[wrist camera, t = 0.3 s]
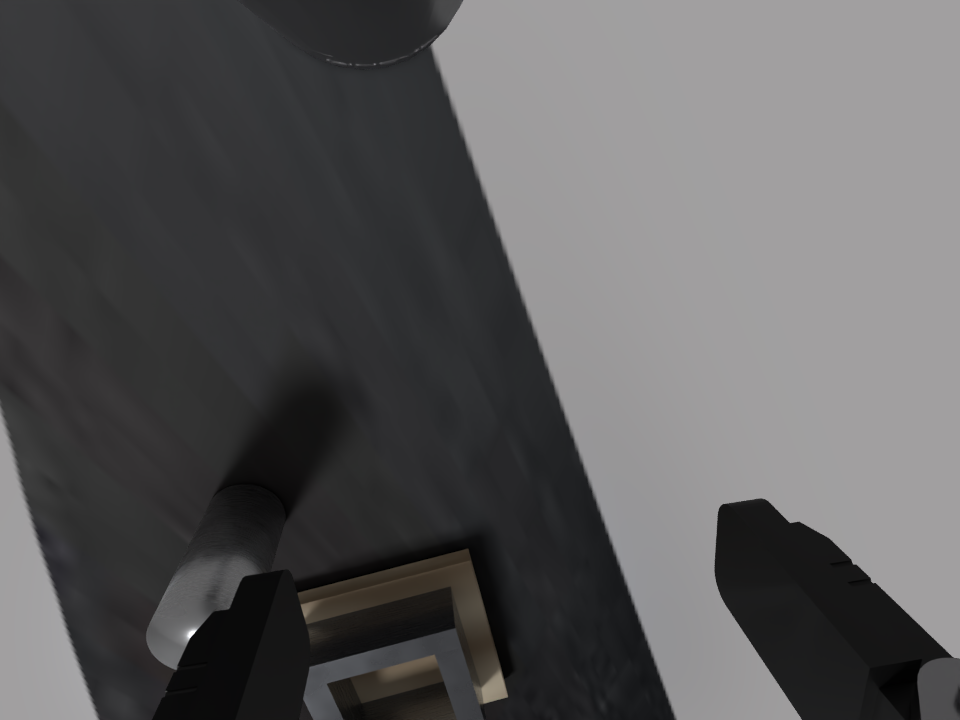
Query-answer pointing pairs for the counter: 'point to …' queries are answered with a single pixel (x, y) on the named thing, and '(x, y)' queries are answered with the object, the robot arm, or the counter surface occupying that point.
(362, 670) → the sleeve
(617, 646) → the counter surface
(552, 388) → the counter surface
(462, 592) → the board
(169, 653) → the cylinder
